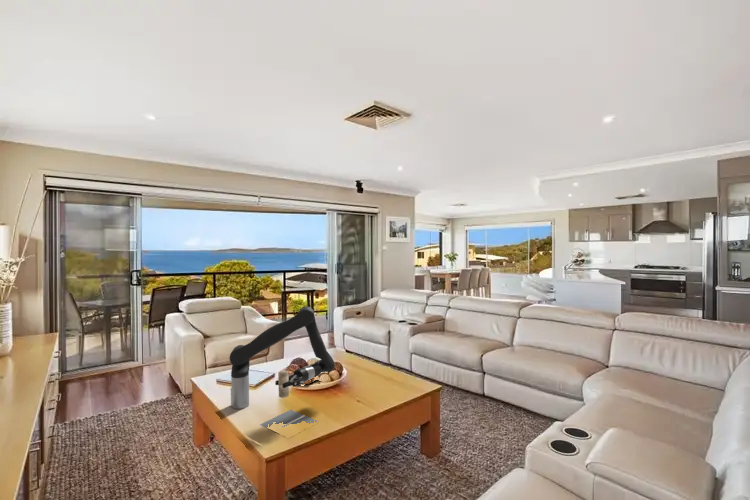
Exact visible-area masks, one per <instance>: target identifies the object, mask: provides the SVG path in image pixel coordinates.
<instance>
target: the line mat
mask: <svg viewBox="0 0 750 500" xmlns="http://www.w3.org/2000/svg"><path fill="white" fill-rule="evenodd" d="M302 421H305V422H306V423H309V424H310V423H314V421H315V422H317V421H318V420H316V419H314V418H312V417H309V416H307V415H305V414H302V413H300V412H297V411H296V410H293V409H289V410H287V411H285V412H283V413H281V414H279V415H277V416H275V417H272V418H271V419H269V420H267V421H264V422H262V423H260V424H259V425H260V426H262V427H264V428H265V429H267V427H268V424H269V427H270V426H271V425H272V424H273V422H276V423H275V424H279V423H282V422H283V424H286V425H284V426H282V427H285V426H287V425H289V424H297V423H301V422H302ZM310 421H311V422H310Z"/></svg>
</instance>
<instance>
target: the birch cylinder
mask: <svg viewBox="0 0 750 500" xmlns="http://www.w3.org/2000/svg"><path fill="white" fill-rule="evenodd" d="M288 375H289V371H288V370H280V371H278V375H277V376H278V378H277V379H278V382H279V385H278V397H279V398H283V399H284V398H287V397H289V395H290V394H289V393H290V386H288V387H286V388H283V383H286V382H288V381H289V376H288Z"/></svg>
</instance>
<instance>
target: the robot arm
mask: <svg viewBox="0 0 750 500" xmlns="http://www.w3.org/2000/svg"><path fill="white" fill-rule="evenodd" d="M304 327H305V329H306V332H307V335H308V338H309V341H310V345H311V348H312V351H313V354H314V355H315V358H318V359H319V360H317V361H314V363H311V364H309V365H305V366H303V367H300V368H297V369H295V370H294V372H293V373H291V374H288V376H289V381H288V382H286V383H283V388H286V387H288V386H289V387H297V386H301V384H302V385H304V384H303V383H304V382H306V381H308V380H310V379H312V378H314V377H316V376H318V375H320V374H321V372H324V373H327V372H329V373H331V372H332V371H334V369H335V360H334V359H333V357H332V356H331V354H330V353H329V351H328V350H327V348H326V346H325V343H324V340H323V338H322V335H321V334H320V331H319V329H318V325H317V322H316V317H315V310H314V309H313V308H312V307H310V306H307V305H306V306H303V307H301V308H300V309H299V311H298V313H296V314H295V315H293V316H292V317H291V318H289V319H287V320H285V321H283V322H279V323H276V324H274V325H272V326H271V327H269V328H267V329H265V330H264V331H262V333H260V334H259V335H258V336H256V337H254V339H253V340H252V341H250V342H248V343H247V344H244V345H243V344H239V345H237V346H235V347H234V348H233V349H232V351H231V352H230V354H229V362H230V363H231V371H230V381H231V382H230V383H231V384H230V385H231V388H230V405H231V408H232V409H235V410H242V409H245V408H247V407H248V406H249V405H250V377H249V375H250V372H249V371H250V359H252V357H255V355H257V354H259V353H261V352H263V351H264V350H267V349H269V348H271V347H272V346H274V345H276V344H277V343H279V342H281V341H282V340H284V339H286V338H287V337H289V336H290V335H291V334H293V333H294V332H296V331H298V330H300V329H302V328H304ZM310 381H311V380H310ZM274 383H275V386H279V382H278V380H275V382H274ZM296 383H297V384H296Z"/></svg>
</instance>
